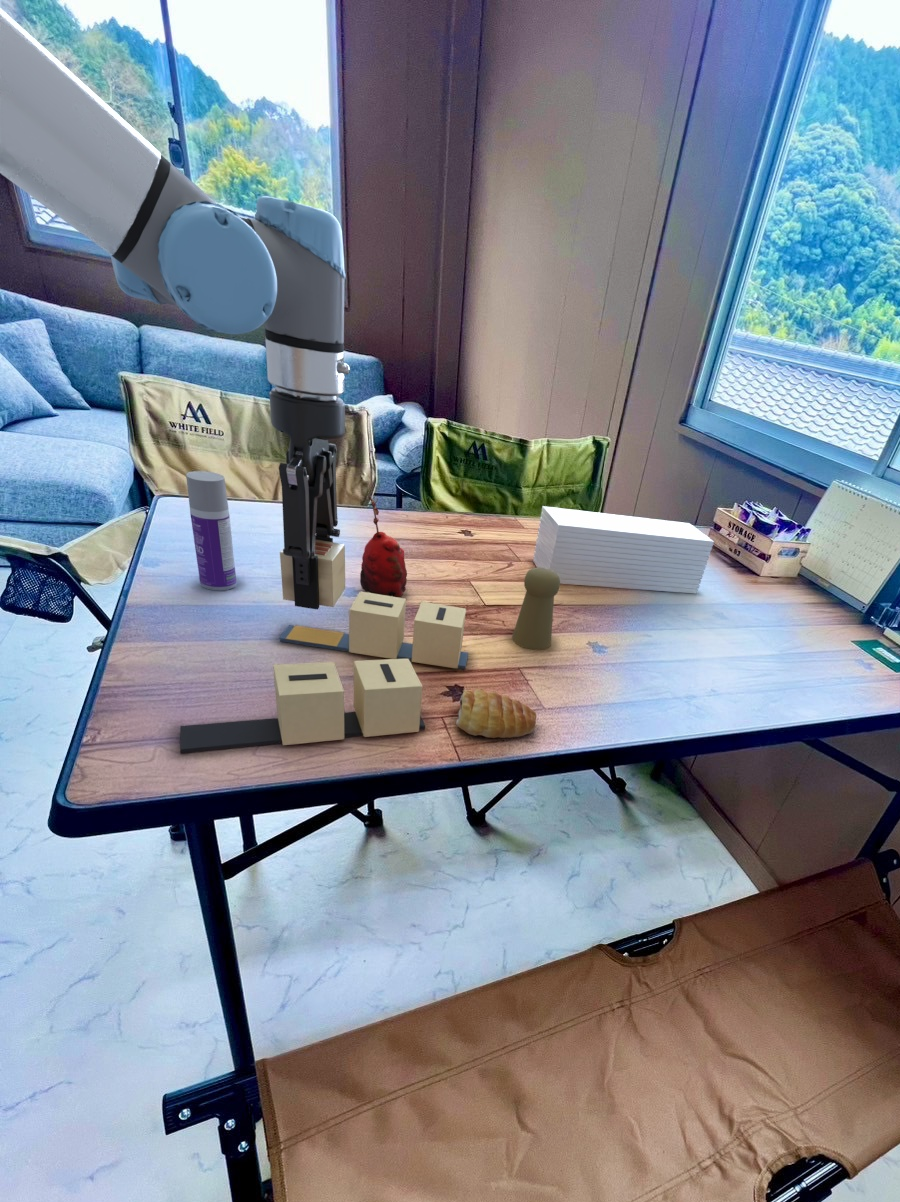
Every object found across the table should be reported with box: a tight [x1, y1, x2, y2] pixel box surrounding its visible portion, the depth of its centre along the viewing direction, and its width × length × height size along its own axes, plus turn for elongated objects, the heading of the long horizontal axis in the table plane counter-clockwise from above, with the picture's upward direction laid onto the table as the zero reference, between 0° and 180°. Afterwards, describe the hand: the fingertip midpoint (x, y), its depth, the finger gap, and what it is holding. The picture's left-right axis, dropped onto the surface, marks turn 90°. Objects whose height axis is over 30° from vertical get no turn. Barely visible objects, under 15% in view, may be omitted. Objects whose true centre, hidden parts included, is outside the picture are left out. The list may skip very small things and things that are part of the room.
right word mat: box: [279, 590, 469, 670], centre depth 81 cm, size 24×6×7 cm, turn 91°
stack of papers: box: [532, 505, 715, 594], centre depth 121 cm, size 32×11×11 cm, turn 106°
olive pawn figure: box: [511, 567, 561, 651], centre depth 91 cm, size 6×6×11 cm
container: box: [185, 470, 237, 591], centre depth 85 cm, size 5×5×15 cm
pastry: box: [455, 688, 537, 739], centre depth 73 cm, size 9×7×4 cm
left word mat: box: [179, 658, 426, 754], centre depth 65 cm, size 24×6×7 cm, turn 114°
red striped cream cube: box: [279, 539, 346, 608], centre depth 77 cm, size 6×6×6 cm
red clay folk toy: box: [359, 494, 408, 598], centre depth 94 cm, size 8×7×15 cm
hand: (315, 595), depth 79 cm, fingers closed on red striped cream cube, 6 cm apart
